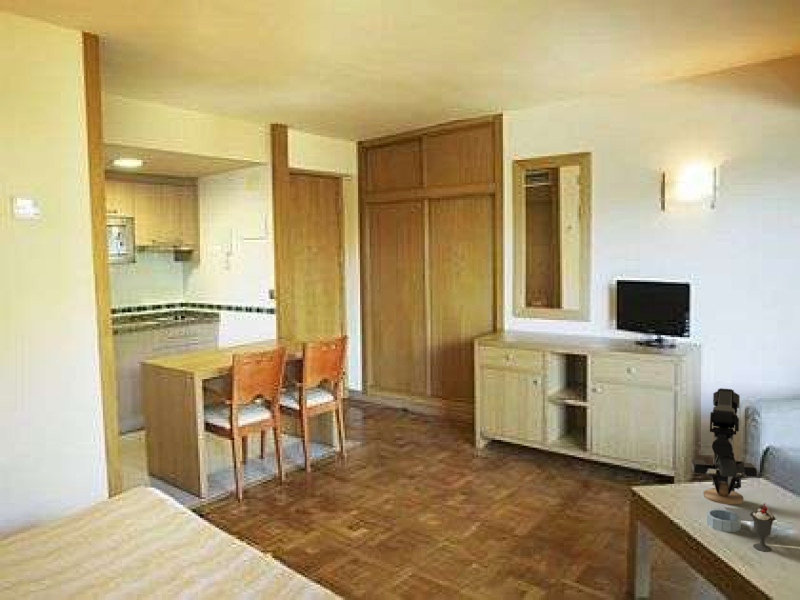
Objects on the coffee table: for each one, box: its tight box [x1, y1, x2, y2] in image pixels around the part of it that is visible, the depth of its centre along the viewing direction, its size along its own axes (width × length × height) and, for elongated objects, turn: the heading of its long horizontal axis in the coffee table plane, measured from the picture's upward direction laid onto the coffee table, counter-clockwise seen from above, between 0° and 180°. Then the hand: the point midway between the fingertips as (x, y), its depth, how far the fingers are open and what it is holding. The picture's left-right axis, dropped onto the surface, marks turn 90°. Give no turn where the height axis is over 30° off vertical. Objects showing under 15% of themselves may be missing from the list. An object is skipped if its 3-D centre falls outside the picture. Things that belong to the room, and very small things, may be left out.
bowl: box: [705, 508, 742, 533], centre depth 194 cm, size 10×10×4 cm
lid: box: [703, 482, 744, 506], centre depth 193 cm, size 12×12×5 cm
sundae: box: [750, 502, 776, 553], centre depth 179 cm, size 7×7×15 cm
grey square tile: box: [724, 506, 758, 522], centre depth 201 cm, size 10×10×1 cm
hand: (723, 493), depth 193 cm, fingers closed on lid, 3 cm apart
